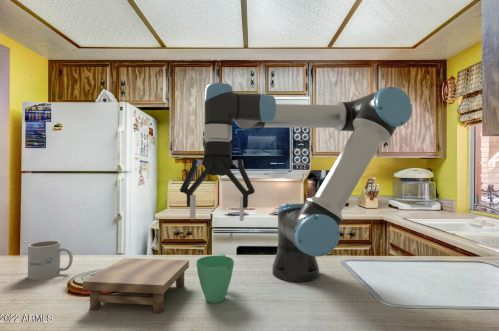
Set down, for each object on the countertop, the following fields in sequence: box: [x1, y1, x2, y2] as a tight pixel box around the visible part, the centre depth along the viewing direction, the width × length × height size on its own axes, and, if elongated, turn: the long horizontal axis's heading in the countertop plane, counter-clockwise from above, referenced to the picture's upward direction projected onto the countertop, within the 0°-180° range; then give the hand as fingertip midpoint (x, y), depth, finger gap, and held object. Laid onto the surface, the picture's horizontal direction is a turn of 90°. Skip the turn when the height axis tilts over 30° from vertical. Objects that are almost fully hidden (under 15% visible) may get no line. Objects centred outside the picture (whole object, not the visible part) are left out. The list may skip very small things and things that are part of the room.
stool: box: [82, 257, 190, 314], centre depth 83 cm, size 20×20×7 cm
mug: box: [27, 240, 74, 281], centre depth 99 cm, size 12×9×10 cm
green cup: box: [196, 253, 235, 304], centre depth 84 cm, size 15×10×10 cm
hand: (217, 219), depth 84 cm, fingers open, 13 cm apart
